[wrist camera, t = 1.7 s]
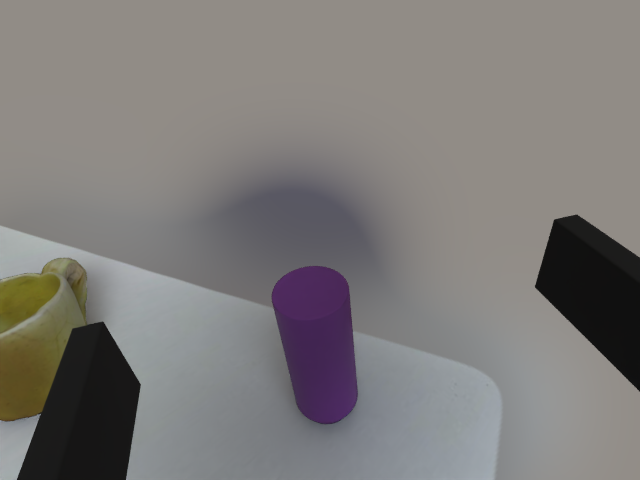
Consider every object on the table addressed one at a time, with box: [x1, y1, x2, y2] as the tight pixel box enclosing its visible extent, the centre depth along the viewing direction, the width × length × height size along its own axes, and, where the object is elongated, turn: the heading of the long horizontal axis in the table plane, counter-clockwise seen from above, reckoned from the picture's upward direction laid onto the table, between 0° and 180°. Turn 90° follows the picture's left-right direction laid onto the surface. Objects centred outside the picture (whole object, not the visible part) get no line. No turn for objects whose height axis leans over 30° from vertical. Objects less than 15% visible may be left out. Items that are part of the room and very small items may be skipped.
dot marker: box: [272, 266, 358, 424], centre depth 26 cm, size 4×4×11 cm
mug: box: [0, 258, 87, 421], centre depth 33 cm, size 12×10×10 cm
